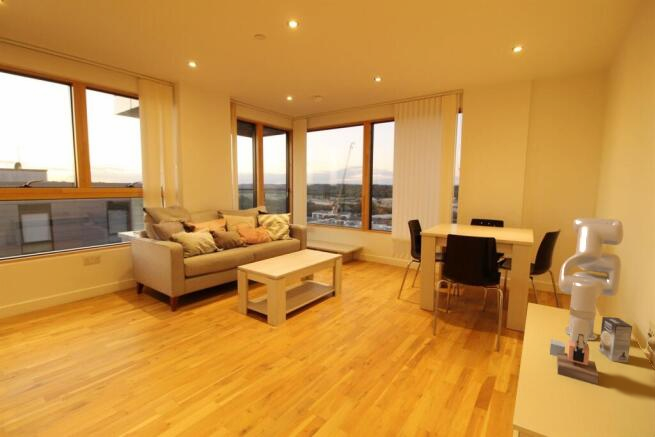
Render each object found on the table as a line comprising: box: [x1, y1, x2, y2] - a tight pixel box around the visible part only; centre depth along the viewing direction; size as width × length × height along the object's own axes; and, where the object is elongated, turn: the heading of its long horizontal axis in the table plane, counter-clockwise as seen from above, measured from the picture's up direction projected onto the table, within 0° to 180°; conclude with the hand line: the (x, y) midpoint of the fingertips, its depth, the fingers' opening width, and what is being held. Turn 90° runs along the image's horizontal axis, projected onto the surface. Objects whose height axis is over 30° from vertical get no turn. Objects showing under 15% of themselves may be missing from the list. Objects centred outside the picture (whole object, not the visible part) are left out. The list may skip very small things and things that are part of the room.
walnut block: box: [556, 353, 599, 386], centre depth 126 cm, size 12×12×4 cm
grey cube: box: [549, 339, 566, 357], centre depth 140 cm, size 5×5×5 cm
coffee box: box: [598, 316, 633, 363], centre depth 138 cm, size 9×6×16 cm
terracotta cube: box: [567, 339, 590, 365], centre depth 125 cm, size 6×6×6 cm
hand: (577, 356), depth 125 cm, fingers closed on terracotta cube, 5 cm apart
